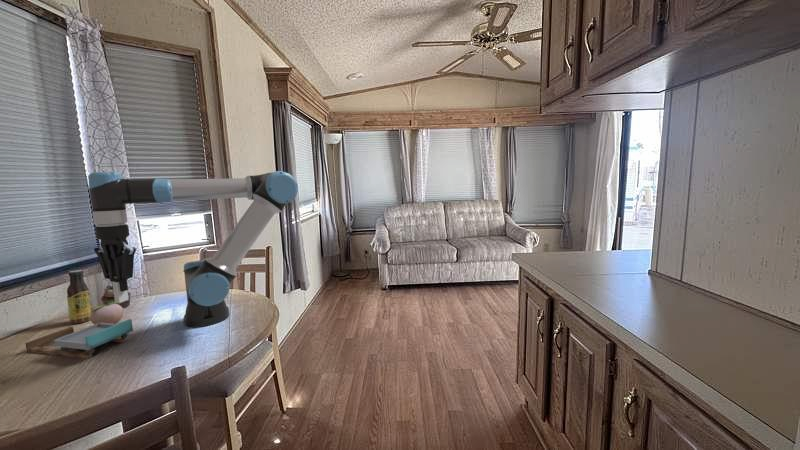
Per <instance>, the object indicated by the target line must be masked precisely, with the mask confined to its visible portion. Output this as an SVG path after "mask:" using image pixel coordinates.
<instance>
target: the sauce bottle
mask: <svg viewBox="0 0 800 450" xmlns="http://www.w3.org/2000/svg"><path fill="white" fill-rule="evenodd" d="M68 276H69V283H70V284H69V285H68V287H67V289H66V294H67V296H66V299H67V307H68V316H69V321H70V324H71V325H72V324H73V325H76V324H81V323H85V322H89V321H91V320H90V315H91V313H92V312H91V311H92V303H91V295H90V293H91V292H90V289H89V287H88V285H87V284H86V282H85V279H84V270H83V269H76V270H70V271H68ZM90 312H91V313H90Z"/></svg>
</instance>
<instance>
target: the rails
mask: <svg viewBox="0 0 800 450" xmlns="http://www.w3.org/2000/svg"><path fill="white" fill-rule="evenodd" d="M74 330H75V329H74V327H73V326H69V327H65V328H63V329H60V330H58V331H55V332H51V333H50V334H47V335H43V336H41V337H38V338H35V339H33V340H29V341H27V342H25V348H26V352H27V353H36V354H37V353H38V354H47V355H54V356H64V357H69V358H70V357H71V358H77V359H78V358H80V359H90V358H91V357H93V353H91V354H87V353H86V351H78V350H77V351H76V350H75V351H74V350H69V349H68V350H66V351H62V350H61V348H59V349H57V348H52V347H50V348H49V347H47V346H49V345H53V340H55V339H58V338H60V337H63V336H65V335H68V334H71V333H73V332H75V331H74ZM126 341H127V337H126V338H124V339H122V338H121V337H117V338H115V339H113V340H111V341H108V342H111V343H118V344H119V343H121V344H122V343H124V342H126Z"/></svg>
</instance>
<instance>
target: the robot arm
mask: <svg viewBox="0 0 800 450" xmlns="http://www.w3.org/2000/svg"><path fill="white" fill-rule="evenodd" d="M88 191H89V197H90V203H91V210H92V218H93V220H92V221H93V224H94V225H95V228H94V231H95V237H96V239H97V240H100V243H99V246H98V247H94V248H93V251H94V252H95V254H96V256H97V258H98V261H99V264H100V268H101V271H102V274H103V276H104V279H105V280H109V281H110V282H111V287H113V291H114V298H115V303H121V302H124V301H127V300H129V298H128V292H129V285H128V280H129V279H130V278H133V276H134V265H135V264H134V262H135V253H136V251H137V248H136V247H135V246H133V247H131V246H130V245H129V241H128V240H127V238H128V237H129V236H130V230H129V225H128V224H126V223H128V215H127V206H126V205H128V204H129V205H132V204H163V203H170V202H172V201H193V200H194V201H195V200H197V201H198V200H216V199H242V198H247V199H248V200H250V201H252V203H251V204H250V206H249V207H248V208H247V209H246V211H244V213H243V214H242V216H241V217H240V219H239V220H238V222H237V223H236V225H235V226H234V227H233V228H232V230H231V231H230V233H229V234H228V235H227V237H226V238H225V240H223V242H222V243H221V245H220V247H219V248H218V249H217V251H216V252H215V253H214V254H213V256H211V257H207V258H206V257H205V259H201V260H195V261H194V260H193V261H190V262H186V263H184V265H183V273H184V282H185V283H184V284H185V290H186V299H187V301H186V302H187V305H186V308H185V312H184V313H185V314H184V315H183V323H184V325H185V326H187V327H189V328H190V327H191V328H198V327H206V326H211V325H214V324H218V323H220V322H222V321H224V320H226V319H228V318H229V316H230V309H229V307H228V306H227V303H226V301H225V299H227V297H228V294H229V293H230V289H231V284H232V283H233V282H234V280H235V278H237V276H238V274H237V268H238V266H240V263H241V262H242V261H243V259H244V258H245V257H246V255H247V253H248V252H249V251H250V249H251V248H252V246H253V245H254V244H255V242H256V241H257V240H258V238H259V237H260V235H261V233H262V232H263V231H264V230H265V228H267V225H268V224H269V223H270V221H271V219H272V218H273V217H274V216H275V214H279V213H281V212H282V211H283V210H284V209H285V207H286V206H287V204H289V203H291V202H292V201H294V200H295V198H296V197H297V196H298V195H297V194H298V191H299V186H298V181H297V180H296V179H295V178H294V176H293V175H292V174H291V173H289V172H286V171H282V170H275V171H273V172H266V173H262V174H257V175H256V174H255V175H246V176H245V177H243V178H235V177H233V178H184V179H183V178H179V179H177V178H176V179H175V178H171V179H169V178H159V177H158V178H123V175H122V173H121V172H119V171H117V172H116V171H110V172H109V171H106V172H105V171H99V172H98V171H94V172H90V173H89V175H88ZM127 290H128V291H127Z"/></svg>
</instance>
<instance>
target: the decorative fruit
mask: <svg viewBox="0 0 800 450" xmlns="http://www.w3.org/2000/svg"><path fill="white" fill-rule="evenodd" d="M105 303H106V305H104V304H102V305H101V304H100V305H98V306H96V307H94V308H92V309H91V312H92V313H91V312H90V313H91V315H90V320H89V321H90V322H91V323H92V324H93V325H94V324H97V323H110V324H118V323H120V321H121V320H122V318H123V317H124V309H123V308H122V307H121V306H120V305H118V304H121V303H118V304H117V303H115V302H111V303H108V304H107V302H105Z"/></svg>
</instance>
